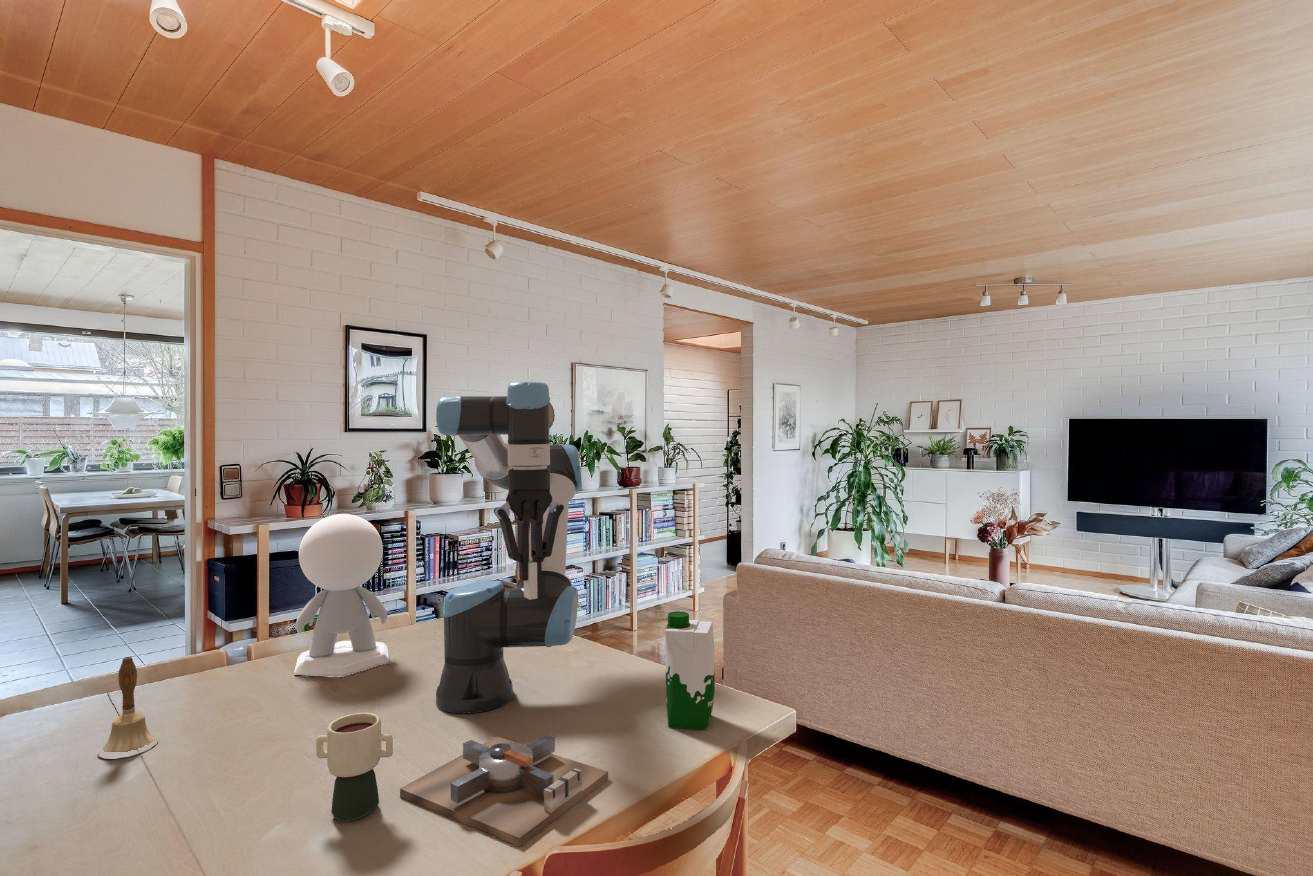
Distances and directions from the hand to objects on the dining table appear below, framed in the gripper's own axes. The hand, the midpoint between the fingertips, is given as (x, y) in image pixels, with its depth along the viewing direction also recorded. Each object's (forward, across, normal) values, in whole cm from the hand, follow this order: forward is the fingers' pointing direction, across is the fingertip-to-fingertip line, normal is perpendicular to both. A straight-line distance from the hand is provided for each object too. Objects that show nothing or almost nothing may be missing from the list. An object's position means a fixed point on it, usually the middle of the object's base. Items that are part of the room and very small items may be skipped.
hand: (530, 597), depth 123 cm
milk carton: (+25, +26, -13) cm, 38 cm away
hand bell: (+25, -61, +33) cm, 74 cm away
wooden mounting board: (+24, -11, -16) cm, 31 cm away
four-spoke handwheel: (+23, -11, -16) cm, 30 cm away
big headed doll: (+25, -23, +60) cm, 69 cm away
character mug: (+25, -32, -10) cm, 41 cm away
